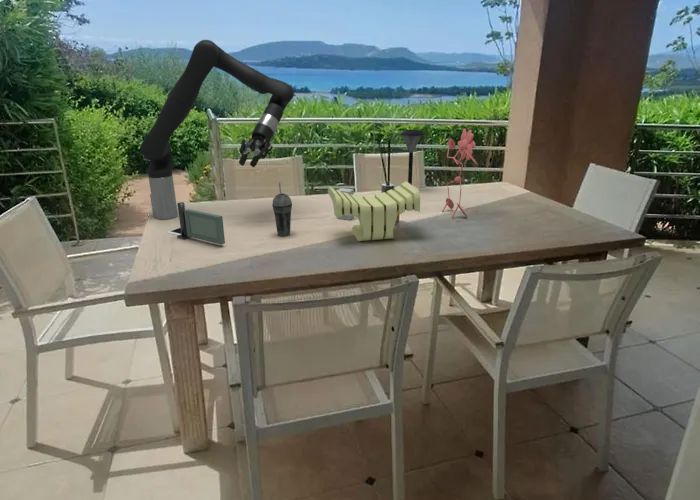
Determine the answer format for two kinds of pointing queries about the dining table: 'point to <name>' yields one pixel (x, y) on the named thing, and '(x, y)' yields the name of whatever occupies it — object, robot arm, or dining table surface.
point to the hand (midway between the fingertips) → (246, 165)
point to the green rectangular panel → (204, 226)
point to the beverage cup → (282, 213)
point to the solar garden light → (411, 147)
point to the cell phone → (175, 231)
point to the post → (182, 221)
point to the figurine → (465, 151)
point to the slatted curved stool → (376, 210)
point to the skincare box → (349, 191)
